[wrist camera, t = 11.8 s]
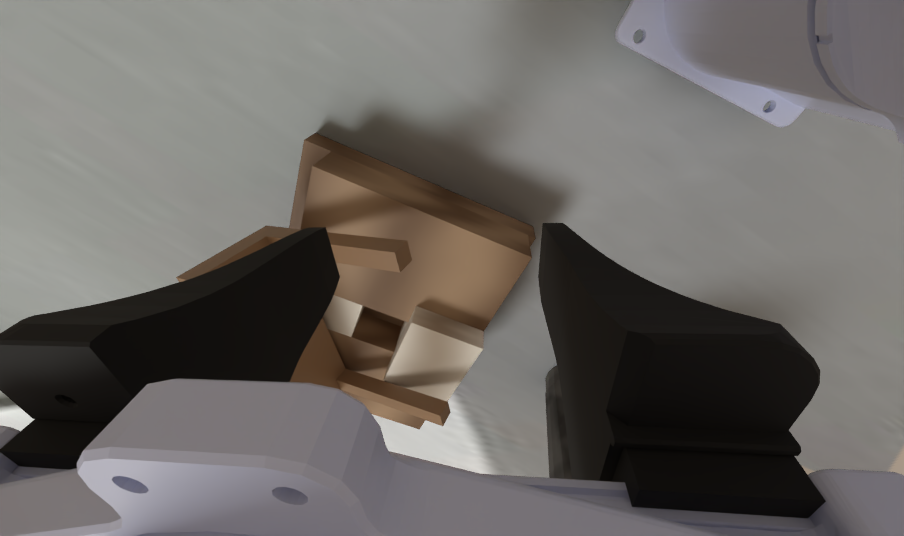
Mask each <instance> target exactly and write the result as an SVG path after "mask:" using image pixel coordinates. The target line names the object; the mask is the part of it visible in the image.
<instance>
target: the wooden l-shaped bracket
mask: <svg viewBox="0 0 904 536" xmlns="http://www.w3.org/2000/svg"><path fill="white" fill-rule="evenodd" d="M300 230H302V229H292V228H283V227H273V226H265V227H263V228H262V229H260V230H258V231H256V232H255V233H253V234H251V235H249V236H248V237H246V238H244V239H242V240H241V241H239V242H237V243H235V244H234V245H232V246H230V247H228V248H227V249H225V250H223V251H221V252H220V253H218V254H216V255H214V256H213V257H211V258H209V259H207V260H206V261H204V262H202V263H201V264H199V265H197V266H195V267H194V268H192V269H190V270H188V271H187V272H185V273H183V274H181V275H180V276H178V277H176V278H177V279H178V281H179V282H182V281H185V280H188V279H191V278H194V277H197V276H199V275H202V274H205V273H208V272H210V271H213V270H215V269H218V268H220V267H223V266H225V265H227V264H229V263H232V262H234V261H236V260H238V259H240V258H243V257H245V256H247V255H249V254H251V253H253V252H256V251H258V250H260V249H262V248H264V247H266V246H268V245H270V244H272V243H274V242H276V241H278V240H280V239H282V238H284V237H286V236H288V235H291V234H293V233H295V232H297V231H300ZM327 233H328V237H329V240H330V244H331V247H332V251H333V254H334V258H335V261H336V263H341V264H348V265H354V266H361V267H367V268H374V269H380V270H387V271H393V272H401V271H402V270H403V269H404V268H405V267H406V266H407V265H408V264H409V263H410V262H411V261H412V257H411V253H410V249H409V245H408V241H405V240H396V239H386V238H377V237H368V236H358V235H349V234H339V233H330V232H327ZM290 382H300V383H312V384H317V385H322V386H327V387H332V388H337V389H339V390H344V391H346V392H349V393H352V394H355V395H358V396H360V397H363V398H366V399H369V400H371V401H374V402H377V403H380V404H383V405H385V406H388V407H391V408H394V409H397V410H399V411H402V412H405V413H408V414H410V415H413V416H416V417H419V418H422V419H424V420H427V421H430V422H433V423H436V424H438V425H441V426H443V425H444V423H445V421H446V419H447V418H448V416H449V414H450V409H449V405H448V402H447V401H444V400H441V399H438V398H435V397H432V396H429V395H425V394H422V393H419V392H416V391H413V390H410V389H407V388H404V387H401V386H398V385H394V384H391V383H388V382H385V381H382V380H379V379H376V378H373V377H370V376H367V375H363V374H360V373H357V372H354V371H351V370H348V369H346V368H345V366H344V364H343V362H342V360H341V357H340V355H339V353H338V351H337V349H336V346H335V344H334V342H333V340H332V338H331V335H330V333H329V331H328V329H327V327H326V324H325V322H324V320H323V318H322V319H321V321H320V323H319V324H318V326H317V328H316V330H315V332H314V333H313V335H312V337H311V339H310V340H309V342H308V344H307V346H306V348H305V349H304V351H303V353H302V355H301V357H300V359H299V361H298V363H297V366H296V368H295V370H294V373H293V375H292V378H291V380H290Z"/></svg>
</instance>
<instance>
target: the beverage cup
mask: <svg viewBox="0 0 904 536" xmlns="http://www.w3.org/2000/svg"><path fill="white" fill-rule="evenodd" d="M545 395H546V415H547V436H548V456H549V477H550V478H558V479H572V476H571V466H570V457H569V449H568V440H567V431H566V423H565V416H564V408H563V400H562V393H561V386H560V379H559V372H558V366H556V367H554V368H552V369H551V370H550V371H549V372H548V374H547V376H546V394H545Z"/></svg>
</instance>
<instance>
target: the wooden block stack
mask: <svg viewBox="0 0 904 536" xmlns="http://www.w3.org/2000/svg"><path fill="white" fill-rule="evenodd" d="M309 227H326V230H327V232H330V233H339V234H349V235H358V236H368V237H377V238H386V239H396V240H405V241H408V245H409V249H410V253H411V257H412V261H411V262H410V263H409V264H408V265H407V266H406V267H405V268H404V269H403V270H402V271H401V272H393V271H387V270H380V269H374V268H367V267H361V266H354V265H348V264H341V263H336V265H337V268H338V272H339V275H340V279H339V282H338V285H337V288H336V290H335V293H334V296H333V298H332V301H331V303H330V304H329V306H328V308H327V310H326V312H325V314H324V316H323V317H322V318H323V320H324V322H325V324H326V327H327V329H328V331H329V333H330V335H331V338H332V340H333V342H334V344H335V346H336V349H337V351H338V353H339V355H340V357H341V360H342V362H343V364H344V366H345V368H346V369H348V370H351V371H354V372H357V373H360V374H363V375H367V376H370V377H373V378H376V379H379V380H382V381H385V382H388V383H391V384H394V385H398V386H401V387H404V388H407V389H410V390H413V391H416V392H419V393H422V394H425V395H429V396H432V397H435V398H438V399H441V400H444V401H448V400H449V398H450V397H451V395H452V394H453V392H454V391H455V389H456V388H457V387H458V385H459V384H460V382H461V381H462V379H463V378H464V376H465V375H466V373H467V372H468V370H469V369H470V367H471V366H472V365H473V363H474V362H475V360H476V359H477V357H478V356H479V354H480V353H481V351H482V350H483V334H484V330H485V328H486V327H487V325H488V324H489V322H490V321H491V319H492V318H493V316H494V315H495V313H496V312H497V310H498V308H499V307H500V305H501V304H502V302H503V301H504V299H505V298H506V296H507V295H508V293H509V292H510V290H511V289H512V287H513V286H514V284H515V283H516V281H517V279H518V278H519V276H520V275H521V273H522V272H523V270H524V269H525V267H526V266H527V264H528V263H529V261H530V260H531V258H532V255H531V249H530V246H531V245H532V243H533V241H534V240H535V234H534V229H533V226H530V225H528V224H526V223H523V222H521V221H519V220H516V219H514V218H512V217H509V216H507V215H505V214H502V213H500V212H498V211H495V210H493V209H491V208H488V207H486V206H484V205H481V204H479V203H477V202H474V201H472V200H470V199H467V198H465V197H463V196H461V195H458V194H456V193H454V192H451V191H449V190H447V189H444V188H442V187H440V186H437V185H435V184H433V183H430V182H428V181H426V180H423V179H421V178H419V177H416V176H414V175H412V174H409V173H407V172H405V171H402V170H400V169H398V168H395V167H393V166H391V165H388V164H386V163H384V162H382V161H379V160H377V159H375V158H372V157H370V156H368V155H365V154H363V153H361V152H358V151H356V150H354V149H351V148H349V147H347V146H344V145H342V144H340V143H337V142H335V141H333V140H330V139H328V138H326V137H323V136H321V135H319V134H316V133H315V134H313V135H312V136H310V137H308V138H307V139H305V140H304V144H303V150H302V156H301V162H300V168H299V174H298V179H297V185H296V191H295V197H294V203H293V209H292V214H291V220H290V226H289V228H292V229H302V230H303V229H306V228H309ZM341 391H343V392H345V393H346V394H348V395H350V396H352V397H353V398H355V399H357V400H359V401H360V402H362V403H363V404H364V405H365V406H366V408H367V409H368V410H369V412H370V413H371V414H374V415H377V416H380V417H383V418H386V419H389V420H392V421H395V422H399V423H402V424H405V425H408V426H411V427H414V428H417V429H420V427H421V426H422V424H423V423H424V421H425V420H424V419H422V418H419V417H416V416H413V415H410V414H408V413H405V412H402V411H399V410H397V409H394V408H391V407H388V406H385V405H383V404H380V403H377V402H374V401H371V400H369V399H366V398H363V397H360V396H358V395H355V394H352V393H349V392H346V391H344V390H341Z"/></svg>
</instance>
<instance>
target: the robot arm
mask: <svg viewBox="0 0 904 536" xmlns="http://www.w3.org/2000/svg"><path fill="white" fill-rule="evenodd" d="M639 29H641V30H642V31H643V37H642V39H641V40H640V41H639V42H638V43H635V42H634V41H633V36H634V33H635V32H636V31H637V30H639ZM615 37H616V40H617V41H618V42H619V43H620V44H622V45H624V46H626V47H627V48H629V49H631V50H633V51H635V52H637V53H639V54H641V55H642V56H644V57H646V58H648V59H650V60H652V61H654V62H656V63H658V64H659V65H661V66H663V67H665V68H667V69H669V70H671V71H673V72H674V73H676V74H678V75H680V76H682V77H684V78H686V79H688V80H689V81H691V82H693V83H695V84H697V85H699V86H701V87H703V88H704V89H706V90H708V91H710V92H712V93H714V94H716V95H718V96H719V97H721V98H723V99H725V100H727V101H729V102H731V103H733V104H734V105H736V106H738V107H740V108H742V109H744V110H746V111H748V112H749V113H751V114H753V115H755V116H757V117H759V118H761V119H763V120H765V121H766V122H768V123H770V124H772V125H775V126H778V127H785V126H787V125H789V124H791V123H792V122H793V121H795V120H796V118H797V117H798V116H799V115H800V114H801V113H802V112H803V111H804V110H805V109H806V108H808V109H812V110H816V111H820V112H823V113H827V114H831V115H835V116H839V117H843V118H847V119H851V120H854V121H858V122H862V123H866V124H870V125H874V126H878V127H882V128H886V129H889V130H893V131H896V133H897V138H898V141H899V142H900V143H904V0H631V2H630V4H629V6H628V8H627V9H626V11H625V13H624V15H623V16H622V18H621V20H620V22H619V23H618V25H617V28H616V30H615ZM768 101H771V105H770V106H769V108H768V109H766V110H765V111H763V107H764V105H765V104H766V103H767V102H768ZM538 277H539V287H540V296H541V303H542V307H543V311H544V315H545V318H546V322H547V326H548V330H549V334H550V338H551V341H552V345H553V349H554V353H555V357H556V361H557V366H558V372H559V379H560V386H561V393H562V400H563V408H564V416H565V423H566V431H567V440H568V449H569V457H570V466H571V476H572V479H558V478H541V477H524V476H507V475H490V474H479V473H475V472H471V471H467V470H463V469H459V468H455V467H451V466H447V465H443V464H439V463H434V462H430V461H426V460H422V459H418V458H414V457H410V456H406V455H402V454H398V453H394V452H389V451H388V449H387V448H386V445H385V442H384V438H383V435H382V431H381V428H380V426H379V424H378V423H377V421H376V420H375V419H374V417H373V416H372V414H371V413H370V412H369V410H368V409H367V408H366V406H365V405H364V404H363V403H362V402H360V401H359V400H357V399H355V398H353V397H352V396H350V395H348V394H346V393H345V392H343V391H341V390H339V389H337V388H332V387H327V386H322V385H317V384H312V383H300V382H290V380H291V378H292V375H293V373H294V370H295V368H296V366H297V363H298V361H299V359H300V357H301V355H302V353H303V351H304V349H305V348H306V346H307V344H308V342H309V340H310V339H311V337H312V335H313V333H314V332H315V330H316V328H317V326H318V324H319V323H320V321H321V319H322V317H323V316H324V314H325V312H326V310H327V308H328V306H329V304H330V303H331V301H332V298H333V296H334V293H335V290H336V288H337V285H338V282H339V279H340V275H339V272H338V268H337V265H336V261H335V258H334V254H333V251H332V247H331V244H330V240H329V237H328V233H327V230H326V227H309V228H306V229H303V230H300V231H297V232H295V233H293V234H291V235H288V236H286V237H284V238H282V239H280V240H278V241H276V242H274V243H272V244H270V245H268V246H266V247H264V248H262V249H260V250H258V251H256V252H253V253H251V254H249V255H247V256H245V257H243V258H240V259H238V260H236V261H234V262H232V263H229V264H227V265H225V266H223V267H220V268H218V269H215V270H213V271H210V272H208V273H205V274H202V275H199V276H197V277H194V278H191V279H188V280H185V281H182V282H179V283H176V284H172V285H169V286H166V287H163V288H159V289H156V290H153V291H150V292H146V293H142V294H138V295H134V296H130V297H126V298H122V299H118V300H114V301H109V302H105V303H100V304H95V305H91V306H85V307H80V308H74V309H69V310H63V311H58V312H52V313H47V314H41V315H35V316H31V317H28V318H26V319H23V320H21V321H19V322H18V323H16V324H15V325H13V326H12V327H10V328H8V329H7V330H5V331H4V332H2V333H0V390H1V391H2V392H3V393H4V394H5V395H6V396H8V397H9V398H10V399H11V400H12V401H13V402H14V403H16V404H17V405H18V406H19V407H20V408H21V409H23V410H24V411H25V412H26V413H27V414H28V415H29V416H31V417H32V418H33V419H35V420H33V421H32V422H31V423H30V424H29V425H28V426H26V427H25V428H24V429H23V430H22V431H21V432H20V431H19V430H16V429H14V428H11V427H6V426H0V536H904V476H903V475H902V474H898V473H895V472H884V471H864V470H845V469H825V470H819V471H816V472H812V473H810V474H809V475H807V474H806V472H805V471H804V469H803V468H802V467H801V465H800V464H799V462H798V461H797V459H796V458H795V457H794V456H798V455H799V454H800V453H801V447H800V445H799V444H798V442H797V441H796V440H795V438H794V437H793V436H792V434H791V433H790V432H789V429H790V427H791V426H792V425H793V423H794V422H795V421H796V419H797V418H798V417H799V415H800V414H801V413H802V411H803V410H804V409H805V407H806V406H807V405H808V403H809V402H810V401H811V399H812V398H813V396H814V394H815V392H816V390H817V388H818V386H819V384H820V369H819V367H818V365H817V363H816V362H815V360H814V358H813V357H812V356H811V355H810V354H809V353H808V352H807V351H806V350H805V349H804V348H803V347H802V346H801V345H800V344H799V343H798V342H797V341H796V340H795V339H794V338H793V337H792V336H791V334H790V333H789V332H788V331H787V330H786V329H785V328H784V327H783V326H782V325H781V324H778V323H774V322H770V321H766V320H763V319H759V318H755V317H751V316H747V315H743V314H739V313H735V312H731V311H728V310H724V309H721V308H718V307H715V306H712V305H709V304H706V303H703V302H700V301H697V300H694V299H691V298H688V297H686V296H683V295H680V294H678V293H675V292H673V291H671V290H668V289H666V288H664V287H661V286H659V285H657V284H654V283H652V282H650V281H648V280H646V279H644V278H642V277H640V276H638V275H636V274H635V273H633V272H631V271H629V270H627V269H625V268H624V267H622V266H620V265H619V264H617V263H616V262H614V261H613V260H611V259H610V258H608V257H606V256H605V255H604V254H602V253H601V252H599V251H598V250H597V249H595V248H594V247H593V246H591V245H590V244H589V243H587V242H586V241H585V240H583V239H582V238H581V237H580V236H579V235H577V234H576V233H575V232H574V231H572V230H571V229H570V228H569V227H567V226H566V225H565V224H563V223H543V226H542V238H541V251H540V263H539V276H538Z"/></svg>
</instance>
